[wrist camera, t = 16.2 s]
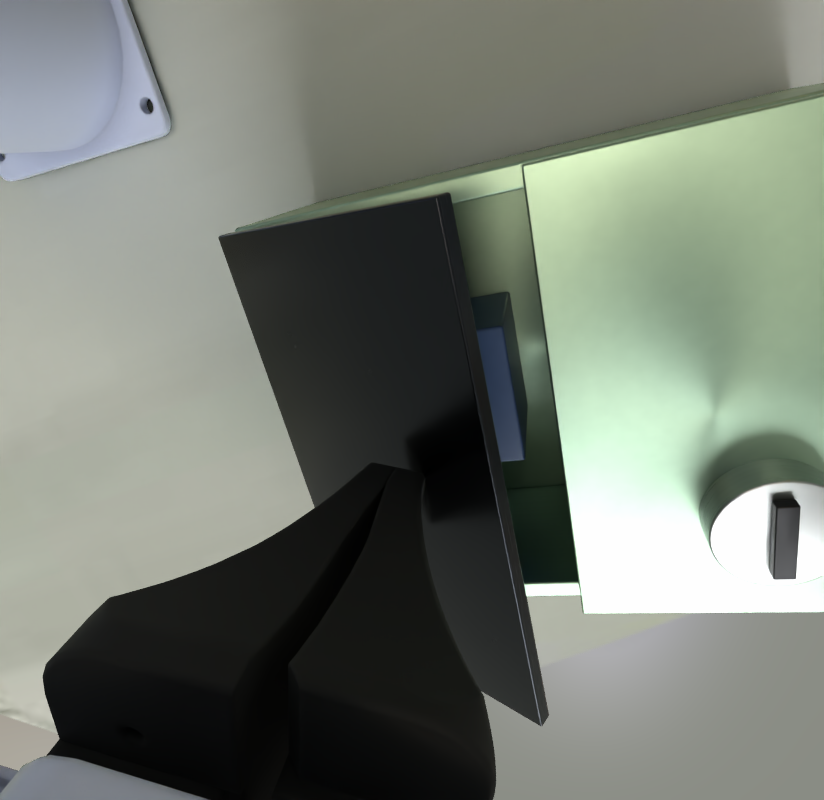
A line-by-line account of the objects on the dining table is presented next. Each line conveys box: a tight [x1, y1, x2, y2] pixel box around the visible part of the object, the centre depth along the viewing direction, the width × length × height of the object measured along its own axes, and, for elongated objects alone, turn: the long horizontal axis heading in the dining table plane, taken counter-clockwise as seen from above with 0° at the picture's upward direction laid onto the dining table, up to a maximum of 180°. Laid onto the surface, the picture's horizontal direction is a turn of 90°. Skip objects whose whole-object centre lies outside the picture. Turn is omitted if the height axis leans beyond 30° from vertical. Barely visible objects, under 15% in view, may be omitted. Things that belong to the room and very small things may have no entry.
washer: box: [235, 83, 824, 614], centre depth 17 cm, size 15×13×7 cm
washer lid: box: [219, 192, 549, 726], centre depth 14 cm, size 7×13×1 cm, turn 12°
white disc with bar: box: [699, 459, 824, 586], centre depth 12 cm, size 10×3×2 cm, turn 13°
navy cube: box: [470, 292, 528, 462], centre depth 19 cm, size 5×5×4 cm
